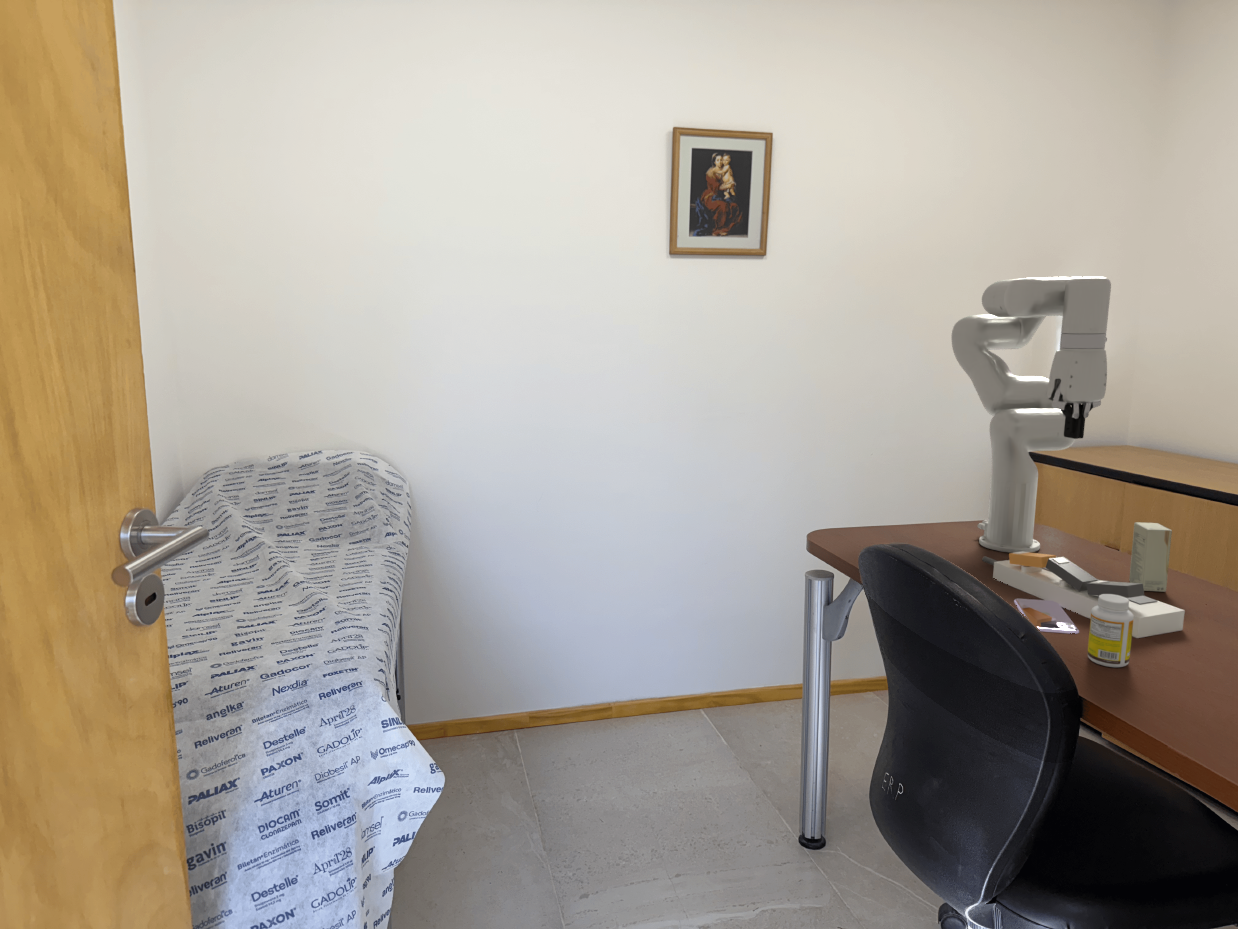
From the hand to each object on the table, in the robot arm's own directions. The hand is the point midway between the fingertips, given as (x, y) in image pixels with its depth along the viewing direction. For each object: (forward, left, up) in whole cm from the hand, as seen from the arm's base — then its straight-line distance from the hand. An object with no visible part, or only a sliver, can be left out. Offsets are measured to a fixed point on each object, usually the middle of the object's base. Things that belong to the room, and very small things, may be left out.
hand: (1073, 437), depth 156 cm
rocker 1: (+3, -11, -23) cm, 26 cm away
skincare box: (+10, +10, -29) cm, 32 cm away
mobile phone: (+16, -20, -29) cm, 38 cm away
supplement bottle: (+33, -26, -29) cm, 51 cm away
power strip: (+8, -9, -29) cm, 31 cm away
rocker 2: (+12, -11, -23) cm, 28 cm away
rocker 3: (+21, -11, -23) cm, 33 cm away
